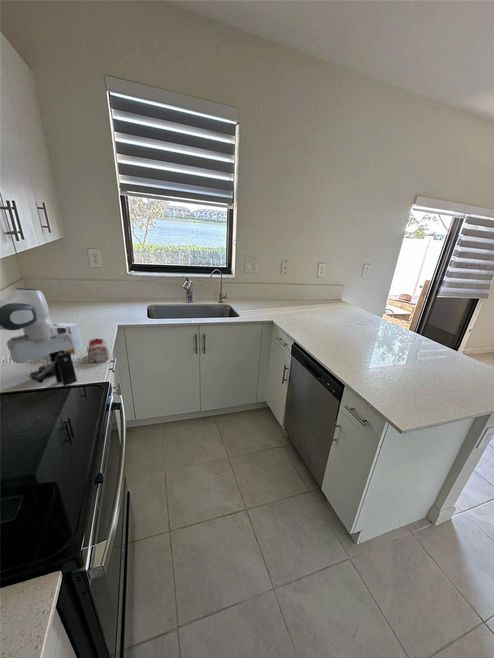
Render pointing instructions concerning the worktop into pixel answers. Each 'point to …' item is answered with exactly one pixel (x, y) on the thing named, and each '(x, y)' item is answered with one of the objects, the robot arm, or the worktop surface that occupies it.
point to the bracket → (63, 368)
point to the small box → (74, 336)
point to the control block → (49, 374)
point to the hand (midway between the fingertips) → (49, 365)
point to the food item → (97, 350)
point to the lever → (45, 371)
